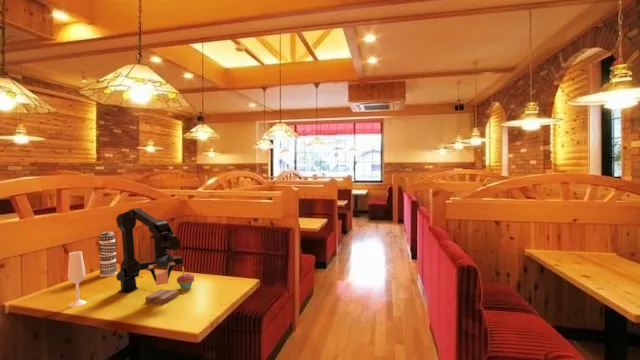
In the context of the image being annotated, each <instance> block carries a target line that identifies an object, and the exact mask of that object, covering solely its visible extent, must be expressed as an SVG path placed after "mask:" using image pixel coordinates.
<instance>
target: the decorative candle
mask: <svg viewBox="0 0 640 360" xmlns="http://www.w3.org/2000/svg"><path fill="white" fill-rule="evenodd" d="M98 237H99V241H98V243H97V245H98V252H99V253H98V256H99V258H100V260H99V275H100V276H99V277H101V278H102V277H106V278H107V277H111V276H115V275H117V274H118V272H117V258H116V254H117V247H116V246H117V242H116V239H115V237H116V236H115V233H114V232H113V231H112V230H111V231H103V232H101V233H100V234H99V235H98Z"/></svg>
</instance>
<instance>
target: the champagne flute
mask: <svg viewBox="0 0 640 360" xmlns="http://www.w3.org/2000/svg"><path fill="white" fill-rule="evenodd" d="M85 277H86V269H85V262H84V256H83V251H82V250H80V251H79V250H78V251H71V252H69V254H68V267H67V280H69V281H70V282H71V283H73V284H75V295H76V296H75V297H76V298H75V301H72V302H71V303H70V304H69V307H70V308H74V307H75V308H76V307H80V306H84V305H85V304H87V303H88V301H86V300H83V299H81V298H80V285H79V283H81V282H82V281H83V280H84V279H85Z"/></svg>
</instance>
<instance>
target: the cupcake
mask: <svg viewBox="0 0 640 360" xmlns="http://www.w3.org/2000/svg"><path fill="white" fill-rule="evenodd" d="M194 281H195V275H193V274H190V273H185V268H184V266H183V265H182V274H181V275H179V276H178V277H177V278H176V283H177V284H178V285H179V287H180V289H181V290H182V289H186V290H190V289H192V285H193V282H194Z"/></svg>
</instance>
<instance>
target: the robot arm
mask: <svg viewBox="0 0 640 360" xmlns="http://www.w3.org/2000/svg"><path fill="white" fill-rule="evenodd" d="M115 221H116V225H117V227H118V229H119V230H120V231H121V242H122V252H123V253H122V255H123V256H122V257H123V260H122V262H121V264H120V268H119V269H120V270H119V271H118V272H117V274H116V277H115V278H116V280H117V281H120V289H119V290H118V292H120V293H127V294H129V293H131V292H134V291H136V290H138V289H139V287H138V286H137V280H136V278H138V277H139V275H140V271H143V270H144V271H145V270H146V271H148V272H149V271H150V273H151V275H152V278H153V281H154V282H155V283H156V276H155V272H156V271H155V267H154V266H156V268H157V269H161V268H167V269H166V270H167V272H168V280H169V279H170V276H171V273H172V270H173V268H174V267H176V266H177V265H178V266H179V265H183V263H184V259H183V257H182V256H181V255H177V256H173V254H169V255H168V251H169V250H170V251H178V250H179V248H180V246H181V241H180V240H181V239H179V238H178V237H177V235H175V234H174V232H173V230H172V227H171V225H170V224H169V223H168V221H166V220H164V219H160V218H155V217H154V216H152V215H150V214H149V213H147V212H145V211H144V210H143V209H142V208H140V207H138V208H131V209H130V210H128V211H124V212H123V213H119V214H118V215H117V216H116V218H115ZM137 221H138V222H140V223H141V224H143V225H145V226H146V227H147V228H148V231H149V232H150V233H151V234H152V235H151V236H150V239H153V261H148V259H147V260H141V261H139V260H137V258H136V254H135V240H134V229H135V227H136V226H137Z"/></svg>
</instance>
